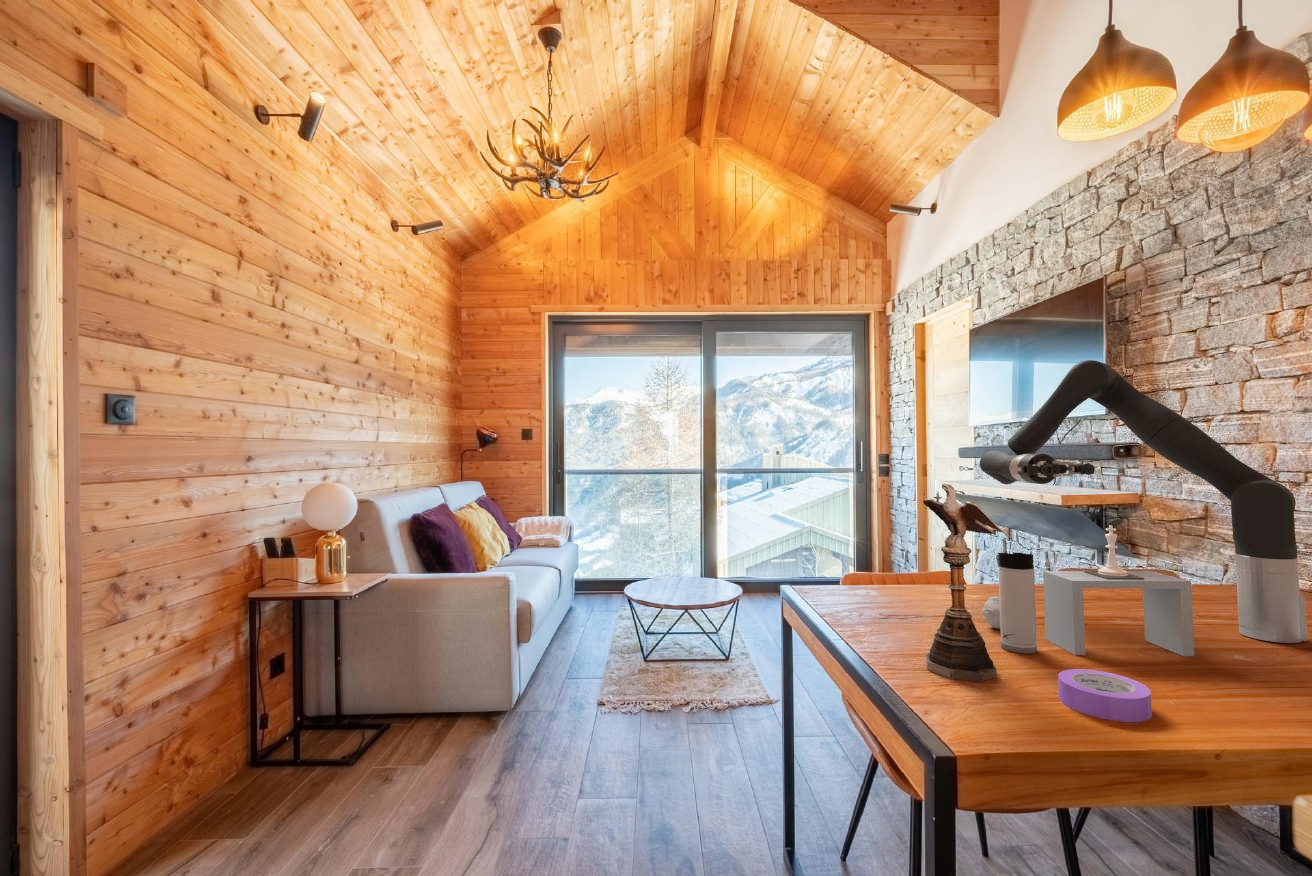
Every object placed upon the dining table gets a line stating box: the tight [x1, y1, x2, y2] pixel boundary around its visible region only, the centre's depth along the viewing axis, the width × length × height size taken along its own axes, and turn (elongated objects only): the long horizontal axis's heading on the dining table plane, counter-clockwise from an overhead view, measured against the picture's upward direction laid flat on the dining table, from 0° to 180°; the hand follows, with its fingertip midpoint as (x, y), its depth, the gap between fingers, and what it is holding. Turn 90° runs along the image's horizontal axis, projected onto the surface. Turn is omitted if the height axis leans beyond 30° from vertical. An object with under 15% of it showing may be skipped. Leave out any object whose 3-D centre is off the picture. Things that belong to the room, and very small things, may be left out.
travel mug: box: [997, 551, 1038, 655], centre depth 119 cm, size 6×7×20 cm
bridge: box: [1042, 570, 1195, 657], centre depth 120 cm, size 22×10×14 cm, turn 85°
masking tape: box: [1057, 668, 1153, 723], centre depth 92 cm, size 12×12×4 cm
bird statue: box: [922, 483, 1013, 682], centre depth 111 cm, size 17×13×35 cm
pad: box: [1083, 570, 1144, 580], centre depth 120 cm, size 7×7×1 cm
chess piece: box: [1097, 524, 1128, 577], centre depth 120 cm, size 5×5×10 cm
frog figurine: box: [981, 596, 1000, 630], centre depth 134 cm, size 6×7×7 cm
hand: (1072, 469), depth 133 cm, fingers open, 8 cm apart
